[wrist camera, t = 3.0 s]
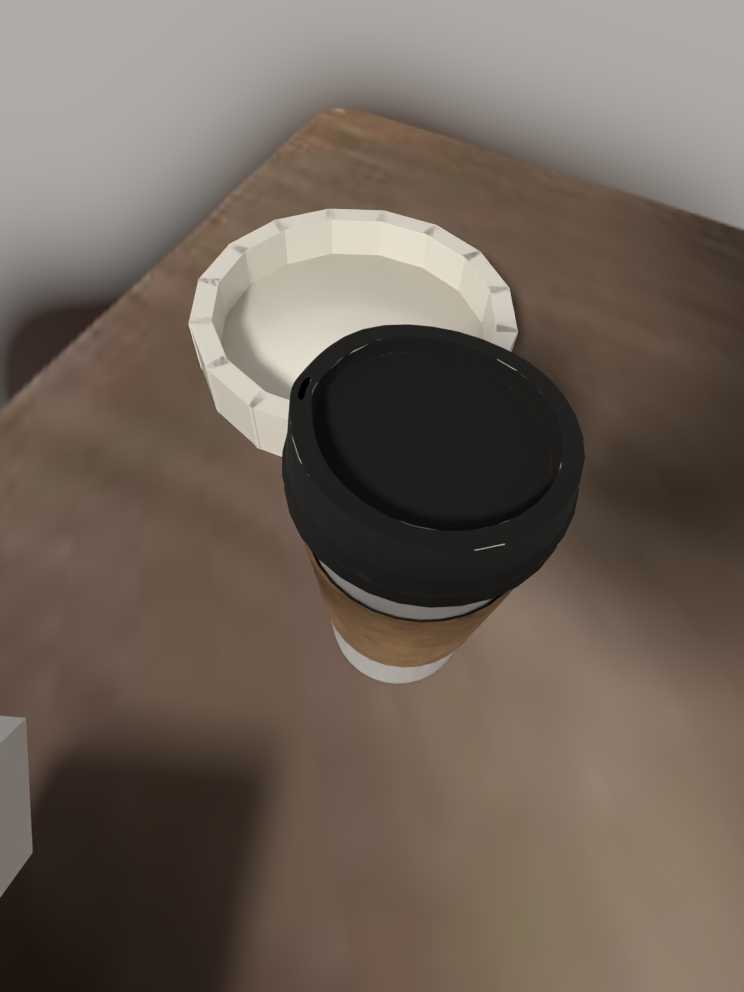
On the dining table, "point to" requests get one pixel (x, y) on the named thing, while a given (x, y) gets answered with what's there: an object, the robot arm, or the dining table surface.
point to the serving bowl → (330, 303)
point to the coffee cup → (425, 487)
